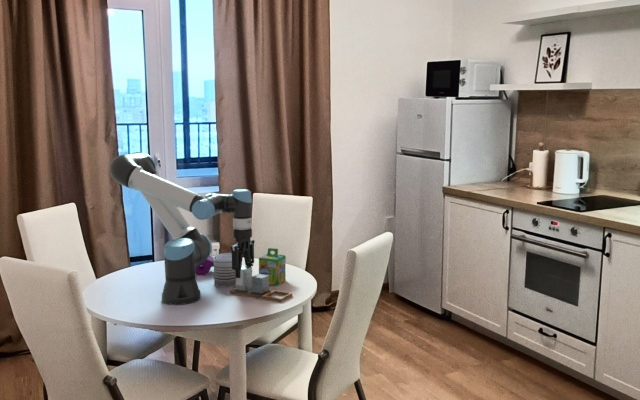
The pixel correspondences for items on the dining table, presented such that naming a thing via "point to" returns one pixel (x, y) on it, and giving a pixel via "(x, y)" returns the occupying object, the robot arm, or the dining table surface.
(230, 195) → the robot arm
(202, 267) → the mounting bracket
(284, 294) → the wooden ladder rack
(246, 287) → the grey square block
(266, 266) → the chalk box
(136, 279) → the dining table surface
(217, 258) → the can
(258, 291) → the gray square block
